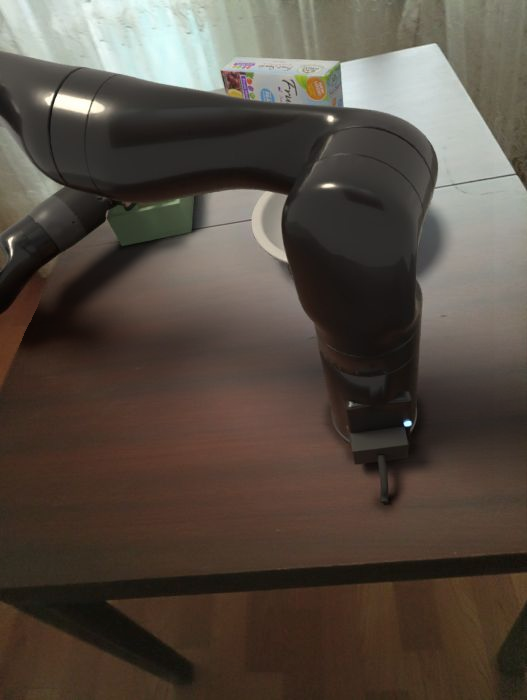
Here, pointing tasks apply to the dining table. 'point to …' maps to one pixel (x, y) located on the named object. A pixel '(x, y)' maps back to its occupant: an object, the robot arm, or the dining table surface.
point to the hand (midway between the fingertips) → (148, 158)
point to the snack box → (284, 80)
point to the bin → (151, 221)
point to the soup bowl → (269, 224)
